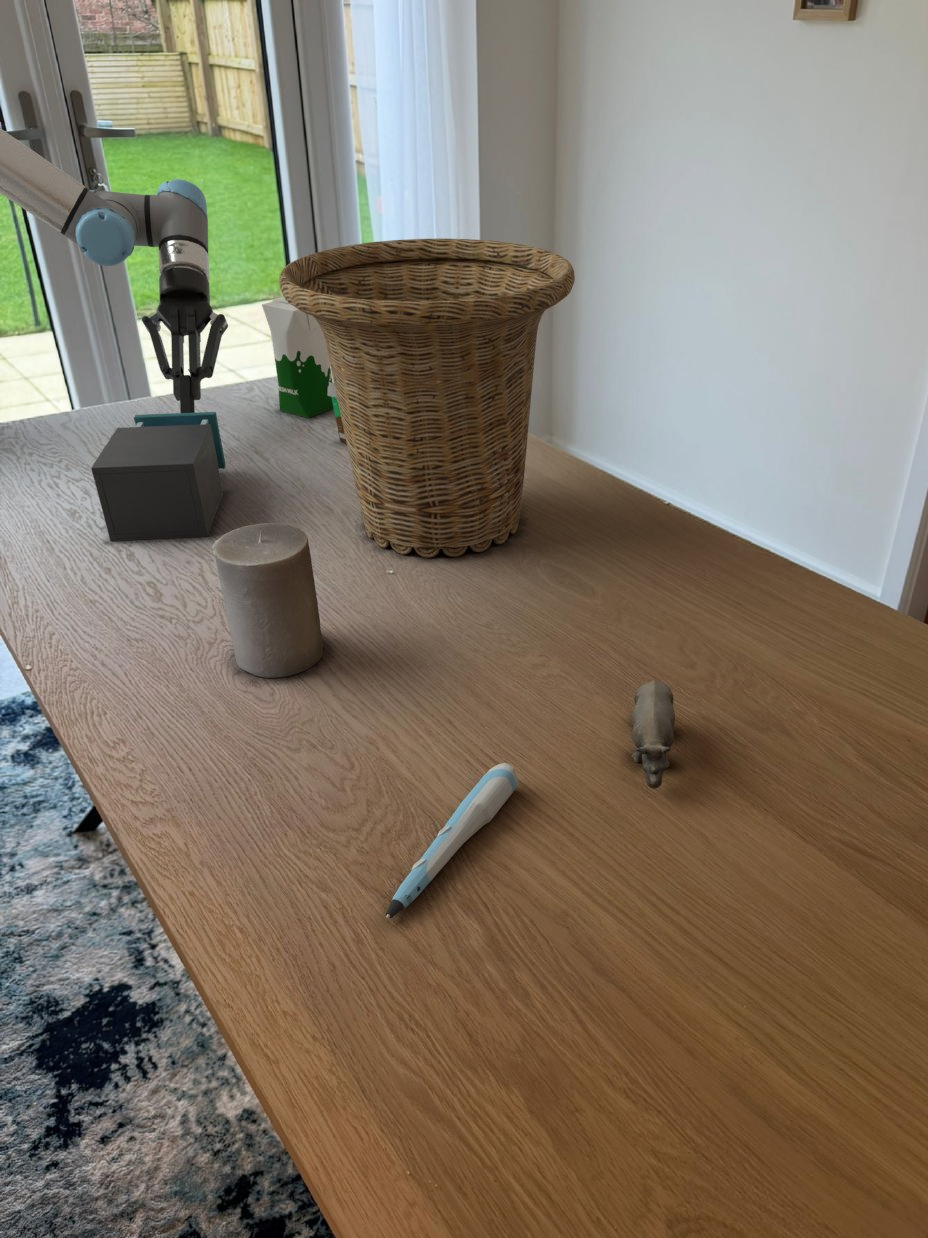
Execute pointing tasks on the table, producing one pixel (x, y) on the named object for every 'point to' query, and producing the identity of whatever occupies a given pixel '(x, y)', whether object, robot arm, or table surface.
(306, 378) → the milk carton
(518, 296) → the wicker basket
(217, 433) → the tray
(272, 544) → the pillar candle
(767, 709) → the table surface
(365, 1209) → the table surface
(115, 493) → the dark gray box
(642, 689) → the rhino figurine
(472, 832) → the pen
